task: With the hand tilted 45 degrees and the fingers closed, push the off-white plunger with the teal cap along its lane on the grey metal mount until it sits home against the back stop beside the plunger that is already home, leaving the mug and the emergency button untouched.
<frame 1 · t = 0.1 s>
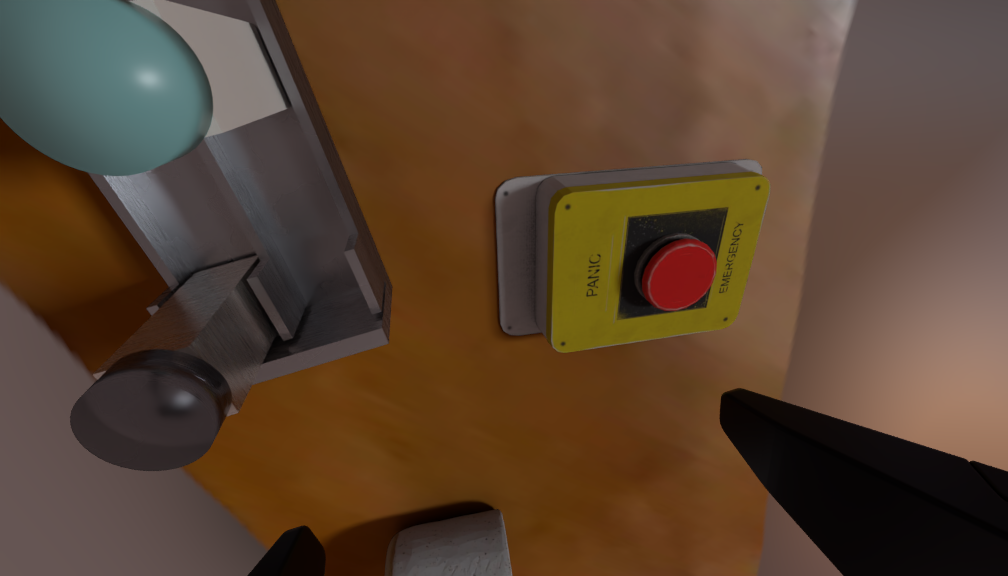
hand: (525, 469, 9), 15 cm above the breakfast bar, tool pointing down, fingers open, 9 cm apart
ceramic mug: (452, 536, 33), on the breakfast bar
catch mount: (247, 177, 19), on the breakfast bar
emergency button: (621, 246, 25), on the breakfast bar
plunger: (183, 80, 12), point 6 cm above the breakfast bar, slide at 0.0 cm
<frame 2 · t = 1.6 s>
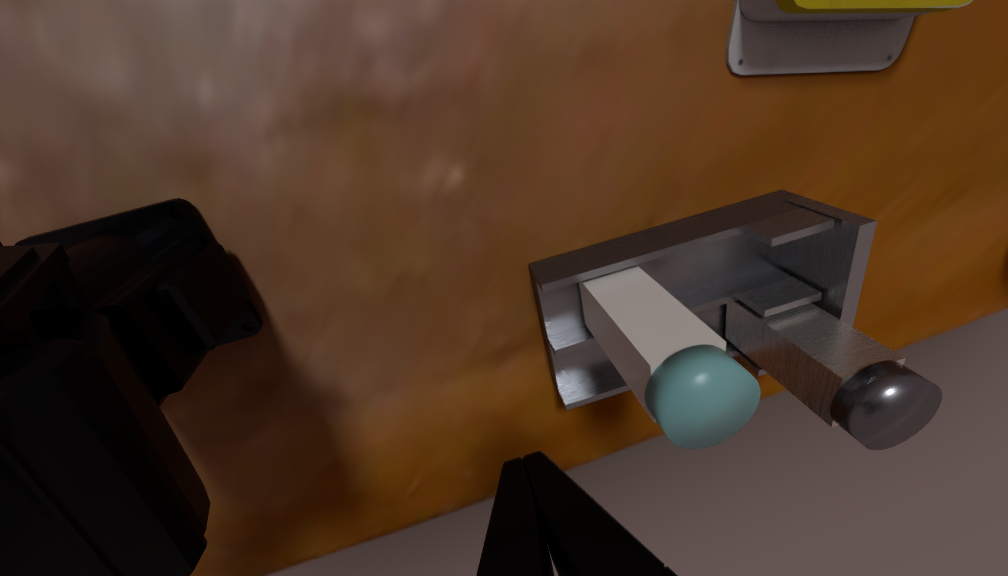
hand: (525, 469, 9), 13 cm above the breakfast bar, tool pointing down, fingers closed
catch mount: (660, 291, 24), on the breakfast bar
plunger: (649, 340, 18), point 6 cm above the breakfast bar, slide at 0.0 cm
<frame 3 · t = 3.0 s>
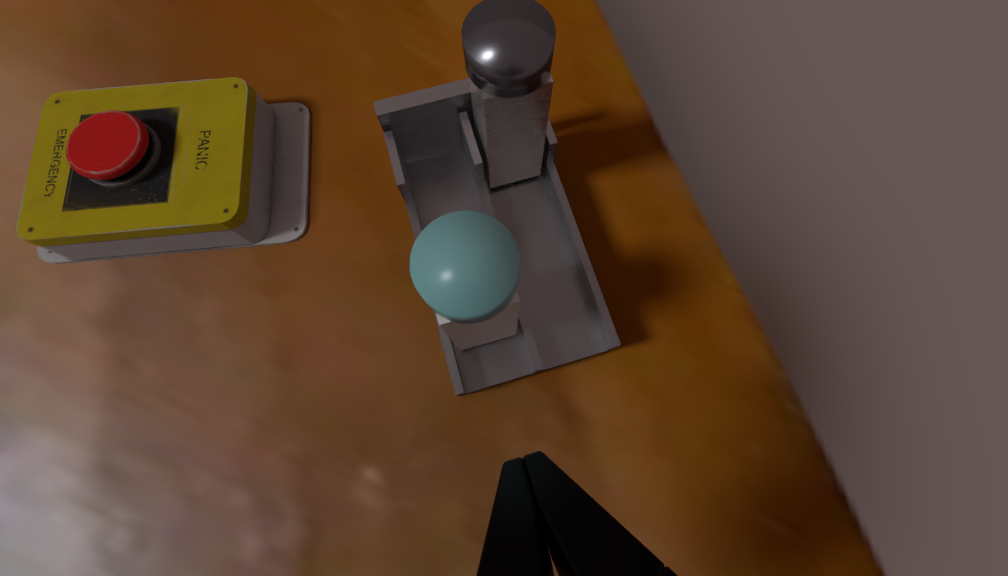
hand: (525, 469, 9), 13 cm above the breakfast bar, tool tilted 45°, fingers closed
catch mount: (497, 250, 24), on the breakfast bar
emergency button: (189, 185, 26), on the breakfast bar
plunger: (474, 294, 17), point 6 cm above the breakfast bar, slide at 0.0 cm
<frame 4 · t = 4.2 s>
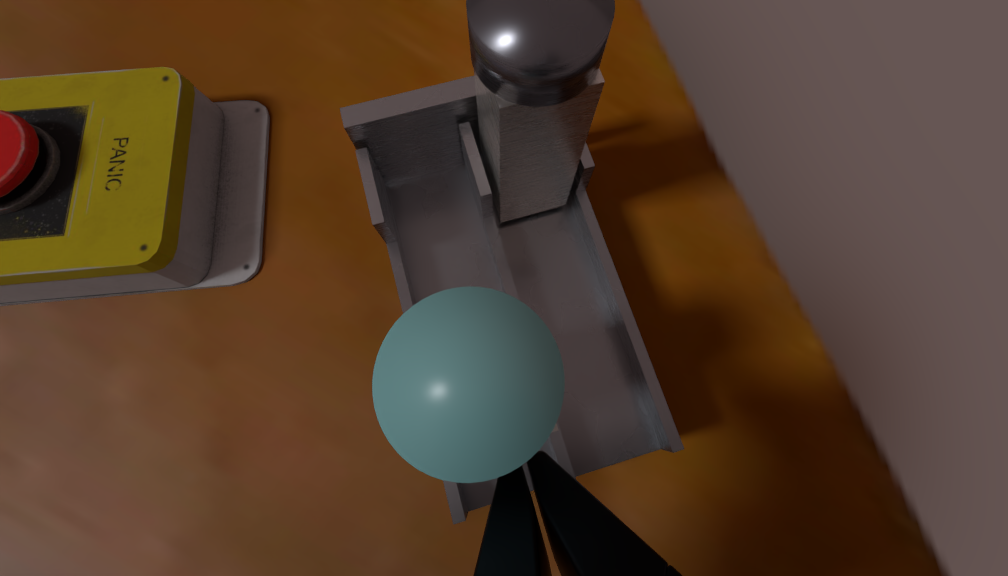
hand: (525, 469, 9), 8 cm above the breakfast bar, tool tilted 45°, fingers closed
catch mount: (509, 303, 18), on the breakfast bar
emergency button: (112, 206, 20), on the breakfast bar
plunger: (480, 387, 12), point 6 cm above the breakfast bar, slide at 0.3 cm, touching gripper
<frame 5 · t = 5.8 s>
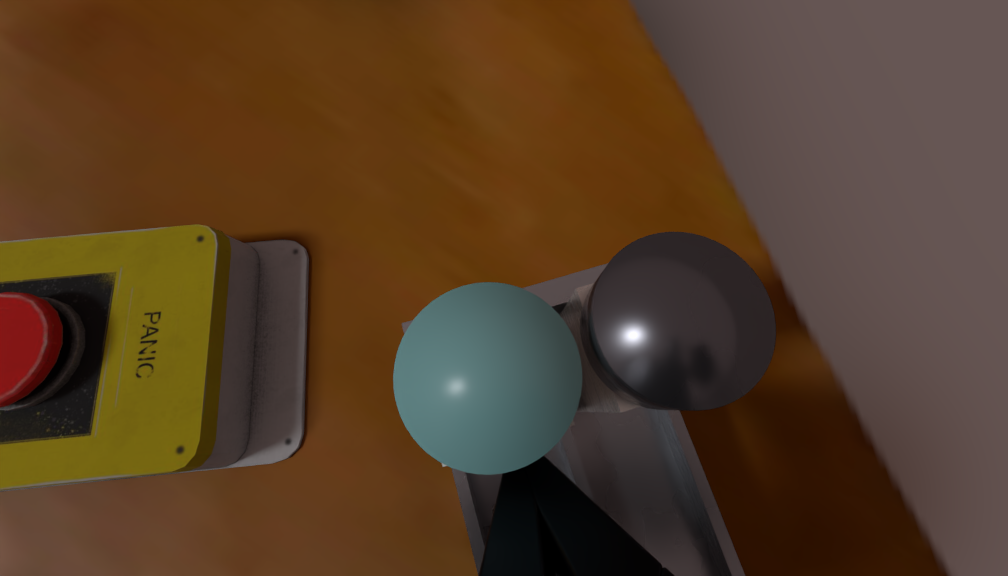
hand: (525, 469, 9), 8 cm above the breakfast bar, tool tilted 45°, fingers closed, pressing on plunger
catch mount: (577, 493, 16), on the breakfast bar
emergency button: (137, 360, 18), on the breakfast bar
plunger: (493, 385, 12), point 6 cm above the breakfast bar, slide at 8.1 cm, touching gripper
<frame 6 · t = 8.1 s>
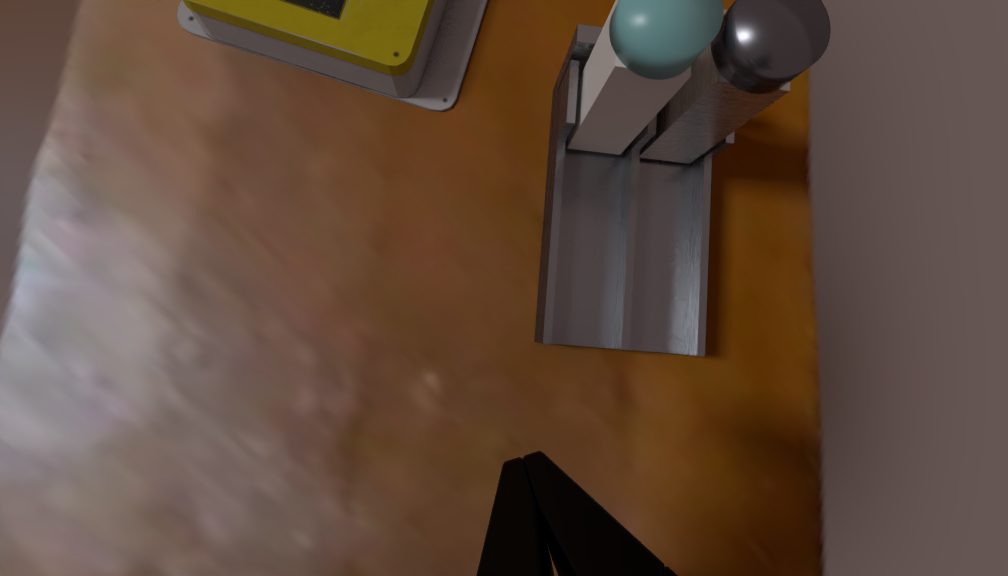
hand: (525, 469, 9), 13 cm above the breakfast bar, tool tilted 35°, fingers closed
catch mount: (615, 219, 23), on the breakfast bar
emergency button: (345, 6, 24), on the breakfast bar
plunger: (625, 79, 18), point 6 cm above the breakfast bar, slide at 8.0 cm
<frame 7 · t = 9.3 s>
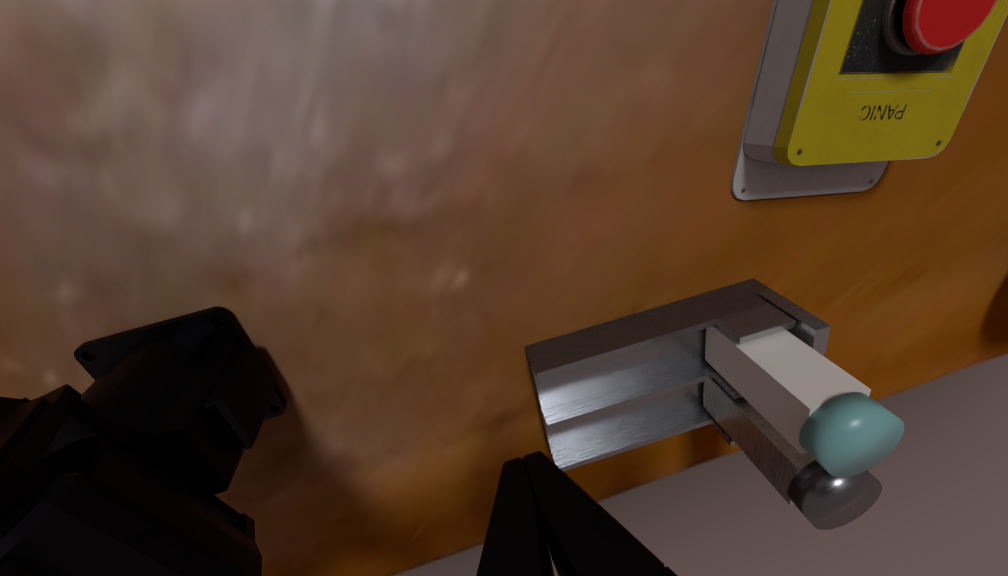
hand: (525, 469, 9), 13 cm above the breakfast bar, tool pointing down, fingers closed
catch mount: (644, 365, 26), on the breakfast bar
emergency button: (840, 34, 20), on the breakfast bar
plunger: (784, 380, 21), point 6 cm above the breakfast bar, slide at 8.0 cm
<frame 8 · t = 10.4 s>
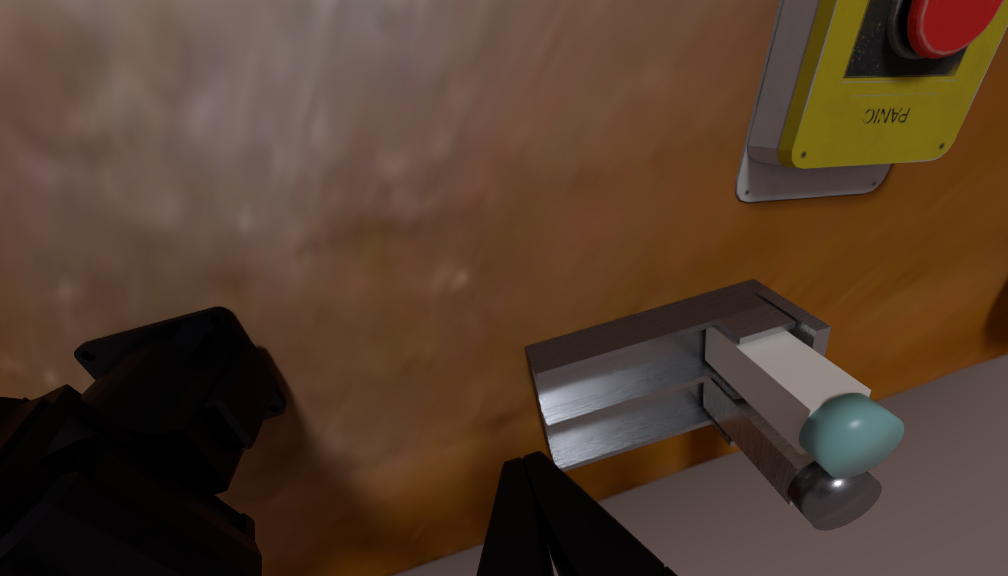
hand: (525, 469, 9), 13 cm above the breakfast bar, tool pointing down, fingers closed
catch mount: (644, 365, 26), on the breakfast bar
emergency button: (845, 37, 20), on the breakfast bar
plunger: (784, 381, 21), point 6 cm above the breakfast bar, slide at 8.0 cm
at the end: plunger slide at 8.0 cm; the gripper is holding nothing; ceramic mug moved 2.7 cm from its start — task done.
